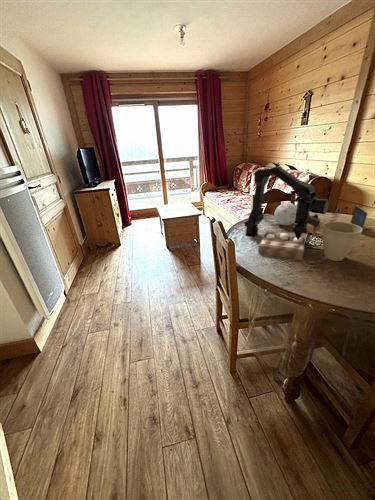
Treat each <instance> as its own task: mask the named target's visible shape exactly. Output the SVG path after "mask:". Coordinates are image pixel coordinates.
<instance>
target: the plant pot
mask: <svg viewBox="0 0 375 500" xmlns="http://www.w3.org/2000/svg"><path fill="white" fill-rule="evenodd" d="M361 232H362V233H363V230H362V228H361V227H359V226H357V225H355V224H351V222H344V221H327V222H324V224H323V229H322V247H323V253H324V256H325V258H326V259H327V260H329V261H335V262H339V261H340V262H341V261H342V260H344V259H345V258H346V256H347V255H348V254H349V253H350V251H351V250H352V249H353V248H354V246H355V245H356V243H357V241H358V239H359V237H360V236H361V235H362V233H361Z"/></svg>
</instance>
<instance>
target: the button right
mask: <svg viewBox="0 0 375 500" xmlns="http://www.w3.org/2000/svg"><path fill="white" fill-rule="evenodd" d="M293 241H297V242H302V241H303V239H302V238H299V239H297V238H296V237H295V238H294V239H293Z"/></svg>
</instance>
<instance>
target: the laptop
mask: <svg viewBox="0 0 375 500" xmlns="http://www.w3.org/2000/svg"><path fill="white" fill-rule="evenodd" d="M367 217H368V212H367V211H365V210H364V209H363V208H361V207H359V205H357V204H355V206H354V210H353V212H352V216H351V220H350V223H351V224H355V225H357V226H359V227H361V228H362V232H361V234H362V233H363V229H364V226H365V223H366V220H367Z"/></svg>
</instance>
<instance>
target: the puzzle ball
mask: <svg viewBox="0 0 375 500" xmlns="http://www.w3.org/2000/svg"><path fill="white" fill-rule="evenodd" d="M296 211H297V205H295V204H294V203H291V202H284V203H281V204H280V205H278V206H277V207H276V209H275V211H274V219H275V222H277V224H278V225H281V226H286V227H287V226H290V225H293V224H295V223H294V222H295V217H296Z"/></svg>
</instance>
